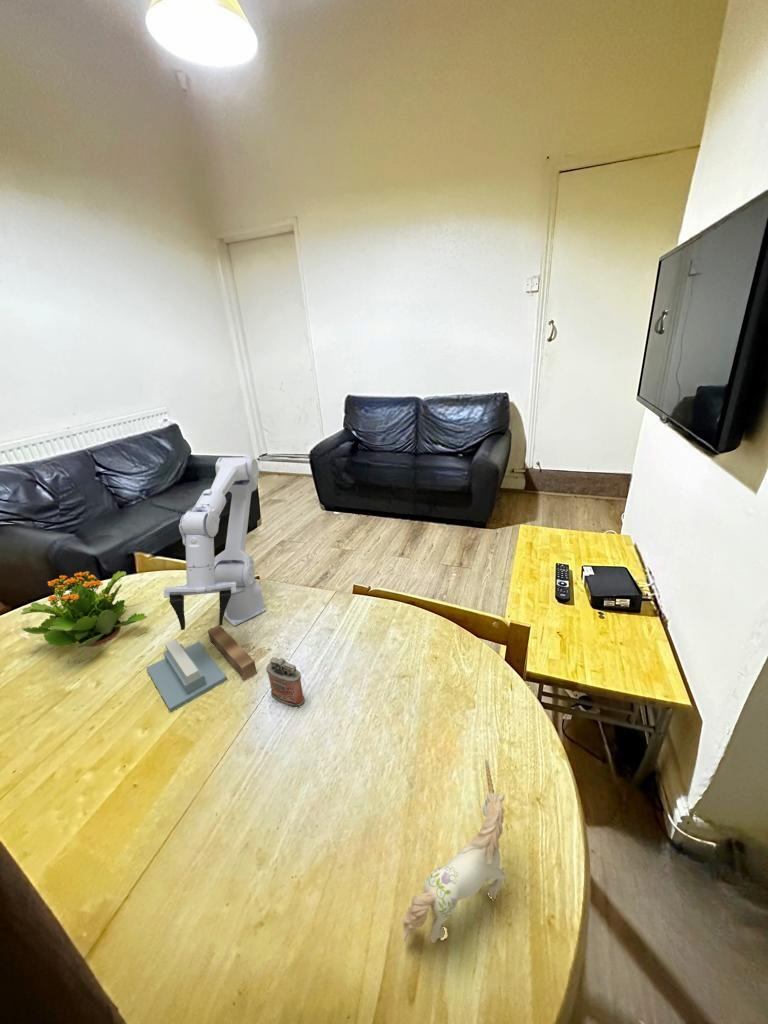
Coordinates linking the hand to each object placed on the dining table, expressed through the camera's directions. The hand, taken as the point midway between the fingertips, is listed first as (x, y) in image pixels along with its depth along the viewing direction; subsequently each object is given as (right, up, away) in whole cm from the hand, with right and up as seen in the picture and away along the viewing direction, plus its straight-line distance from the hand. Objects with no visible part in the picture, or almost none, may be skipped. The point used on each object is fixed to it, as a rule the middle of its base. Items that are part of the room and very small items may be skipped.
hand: (202, 626), depth 92 cm
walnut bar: (+4, -9, +6) cm, 12 cm away
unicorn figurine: (+50, -25, -34) cm, 66 cm away
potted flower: (-33, -7, +15) cm, 37 cm away
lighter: (+20, -14, -5) cm, 25 cm away
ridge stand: (-4, -12, +1) cm, 12 cm away
